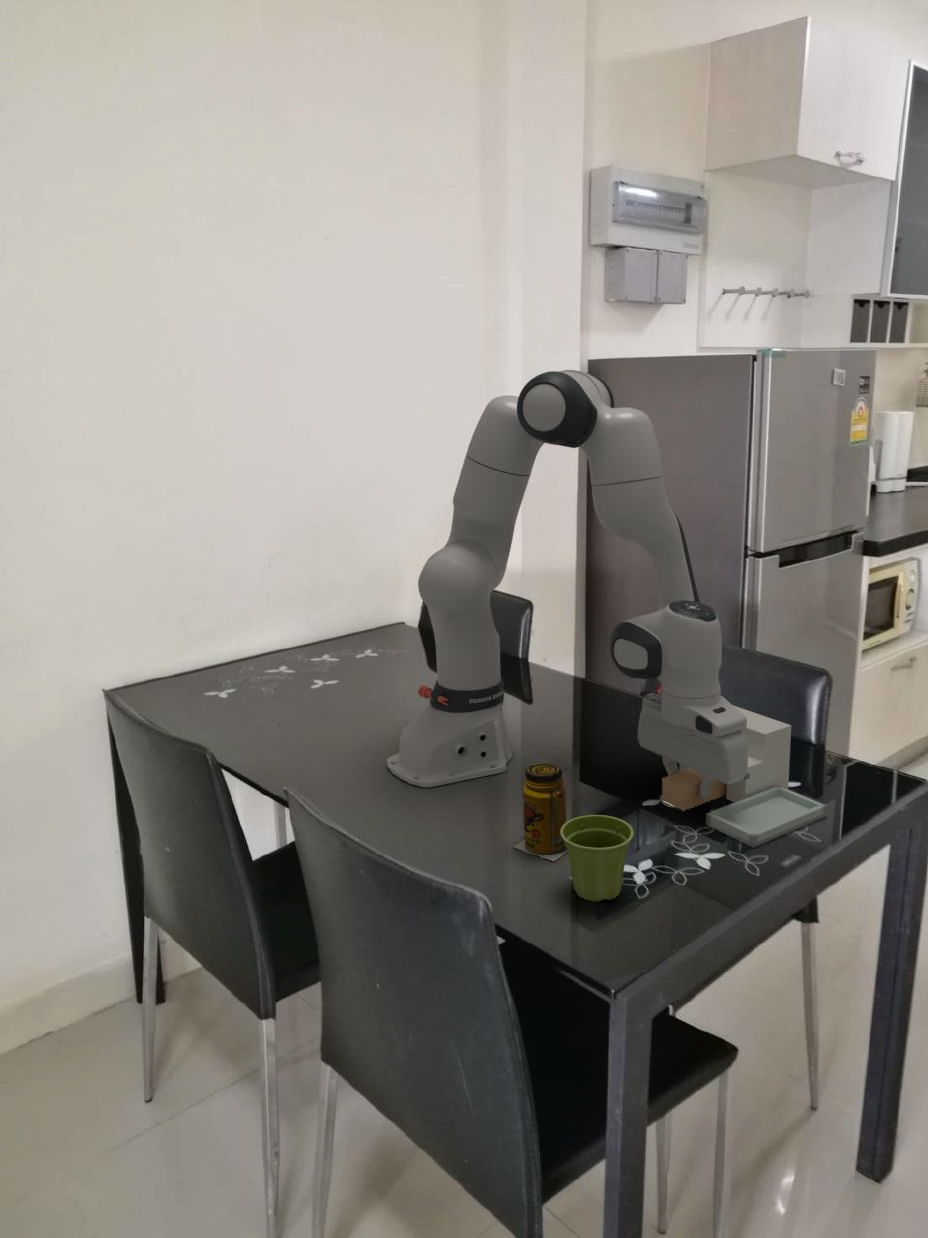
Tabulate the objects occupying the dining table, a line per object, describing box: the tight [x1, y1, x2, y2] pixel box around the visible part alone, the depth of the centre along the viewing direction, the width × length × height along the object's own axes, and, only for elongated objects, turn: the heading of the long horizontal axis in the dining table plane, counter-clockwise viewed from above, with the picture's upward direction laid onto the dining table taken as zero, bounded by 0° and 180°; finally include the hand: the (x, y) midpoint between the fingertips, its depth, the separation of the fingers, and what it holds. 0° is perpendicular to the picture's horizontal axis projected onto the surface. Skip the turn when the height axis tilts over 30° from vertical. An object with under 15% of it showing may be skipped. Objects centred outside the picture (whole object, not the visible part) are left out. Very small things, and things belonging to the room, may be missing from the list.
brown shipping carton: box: [661, 768, 727, 812], centre depth 155 cm, size 12×4×4 cm, turn 123°
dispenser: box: [678, 705, 792, 803], centre depth 158 cm, size 14×10×11 cm
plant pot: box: [560, 814, 635, 902], centre depth 129 cm, size 9×9×9 cm
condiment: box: [513, 762, 568, 862], centre depth 141 cm, size 7×8×12 cm
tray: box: [705, 786, 828, 849], centre depth 147 cm, size 16×9×2 cm, turn 123°
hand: (688, 790), depth 154 cm, fingers closed on brown shipping carton, 4 cm apart
